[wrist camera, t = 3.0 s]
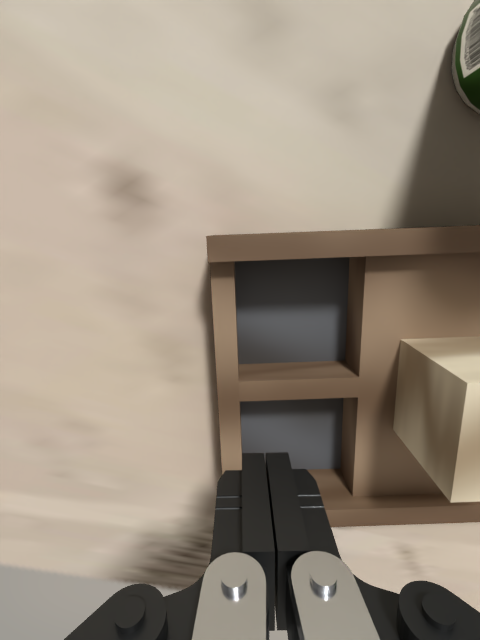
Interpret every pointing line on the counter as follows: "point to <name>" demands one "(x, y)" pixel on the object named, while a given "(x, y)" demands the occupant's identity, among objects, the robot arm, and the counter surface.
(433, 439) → the maple block
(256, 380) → the box
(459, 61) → the beer can
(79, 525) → the counter surface
